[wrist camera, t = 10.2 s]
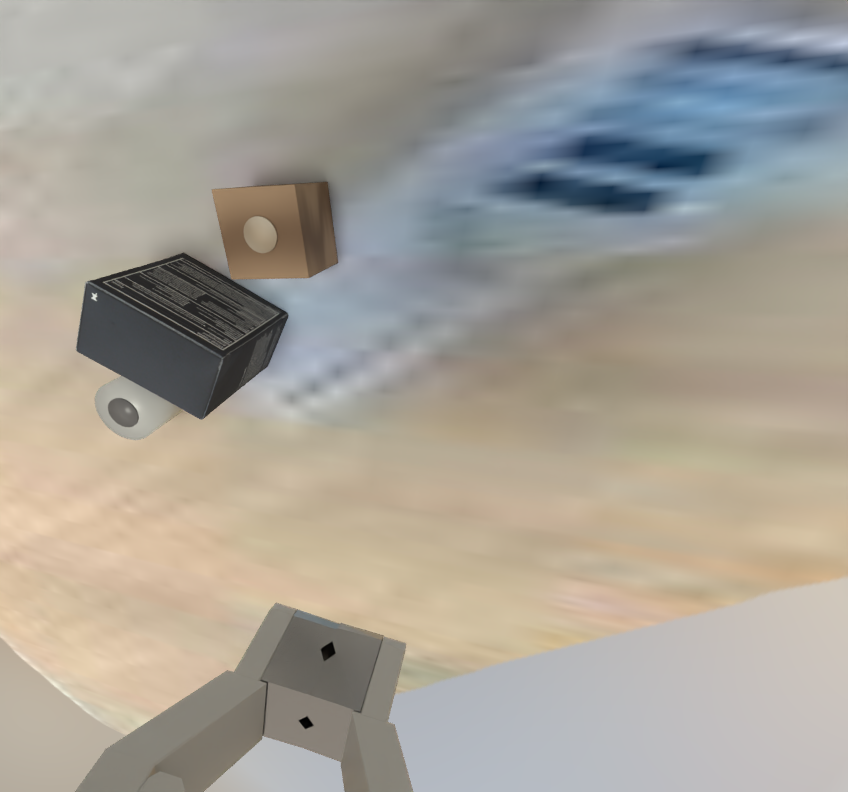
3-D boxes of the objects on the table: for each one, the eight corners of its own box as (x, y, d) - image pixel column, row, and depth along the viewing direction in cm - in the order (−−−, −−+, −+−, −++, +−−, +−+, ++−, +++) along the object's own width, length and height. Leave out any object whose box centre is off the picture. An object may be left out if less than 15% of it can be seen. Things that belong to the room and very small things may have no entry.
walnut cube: (255, 186, 38) (209, 189, 32) (327, 181, 37) (293, 184, 31) (270, 264, 40) (230, 279, 35) (338, 262, 39) (307, 278, 34)
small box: (165, 313, 44) (69, 353, 35) (182, 249, 41) (81, 275, 32) (267, 371, 45) (199, 425, 35) (290, 312, 42) (223, 355, 32)
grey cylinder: (140, 351, 46) (89, 376, 41) (194, 366, 46) (149, 393, 41) (145, 401, 49) (97, 431, 44) (195, 416, 49) (154, 448, 43)
